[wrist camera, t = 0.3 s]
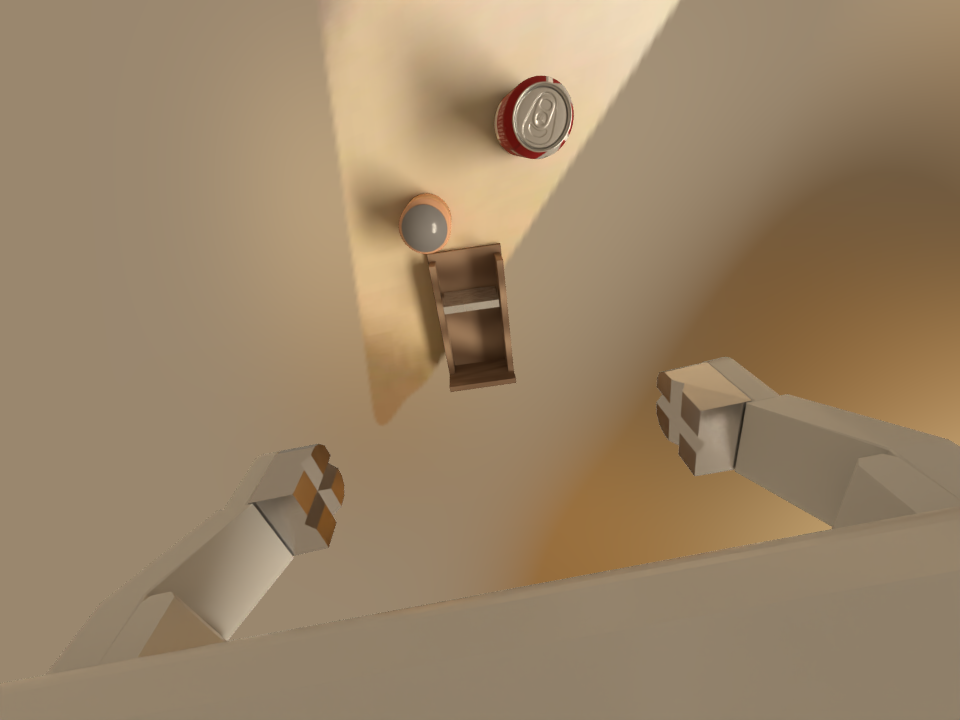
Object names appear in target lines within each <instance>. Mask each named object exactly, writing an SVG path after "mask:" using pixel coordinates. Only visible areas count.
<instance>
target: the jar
mask: <svg viewBox="0 0 960 720" xmlns="http://www.w3.org/2000/svg"><path fill="white" fill-rule="evenodd" d="M399 231H400V235H401V237H402V239H403V241H404V242H405V244H406V245H407V246H408V247H409V248H411V249H412V250H414V251H416V252H418V253H422V254H431V253H434V252H437V251H439V250H440V249H442V248H443V247H444V246H445V245H446V243H447V242H448V240H449V237H450V233H451V213H450V210H449V208H448V206H447V204H446V203H445V202H444V201H443V200H442V199H441V198H440V197H438V196H436V195H433V194H428V193H426V194H420V195H417V196H416V197H414V198H413V199H412V200H411V201H410V202H409V203H408V205H407V206H406V208H405V209H404V210H403V212H402V214H401V216H400V220H399Z"/></svg>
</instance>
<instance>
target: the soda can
mask: <svg viewBox="0 0 960 720" xmlns="http://www.w3.org/2000/svg"><path fill="white" fill-rule="evenodd" d="M573 117H574V111H573V104H572V100H571V98H570V95H569V93H568V92H567V90H566V89H565V87H564V86H563V85H562V84H561V83H560V82H558V81H557V80H555V79H553V78H551V77H547V76H534V77H531V78H528V79H526V80H525V81H523V82H522V83H520V84H519V85H518V86H517V87H516V88H514V89H513V90H512V91H511V92H510V93H509V94H507V95H506V96H505V97H504V98H503V100H502V101H501V102H500V104H499V106H498V108H497V110H496V114H495V119H494V129H495V134H496V137H497V139H498V141H499V143H500V145H501V146H502V147H503V148H504V149H505V150H506V151H507V152H509V153H511V154H513V155H516V156H521V157H525V158H530V159H542V158H546V157H548V156H550V155H552V154H554V153H555V152H556V151H558V150H559V149H560V148H561V147H562V146H563V144H564V143H565V142H566V140H567V138H568V136H569V134H570V132H571V129H572V125H573Z"/></svg>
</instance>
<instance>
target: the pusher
mask: <svg viewBox="0 0 960 720" xmlns="http://www.w3.org/2000/svg"><path fill="white" fill-rule="evenodd" d="M494 307H499V299H498V295H497V292H496V289H495V286H488V287H481V288H474V289H467V290H460V291H453V292H446V293H444V305H443V308H444V313H445V314H452V313H459V312H466V311H473V310H480V309H487V308H494Z"/></svg>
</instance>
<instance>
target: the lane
mask: <svg viewBox="0 0 960 720" xmlns="http://www.w3.org/2000/svg"><path fill="white" fill-rule="evenodd" d="M427 258H428V263H429V271H430V276H431V281H432V286H433V291H434V296H435V301H436V306H437V311H438V317H439V322H440V327H441V332H442V337H443V342H444V347H445V352H446V357H447V362H448V367H449V373H450V391H451V392H454V391H461V390H467V389H475V388H482V387H489V386H496V385H504V384H511V383H516V378H515V374H514V369H513V359H512V348H511V339H510V328H509V317H508V307H507V296H506V286H505V276H504V265H503V259H502V256H501V246H500V243H499V244H492V245H485V246H478V247H471V248H464V249H457V250H450V251H443V252H436V253H431V254H427ZM488 286H495V289H496V292H497V295H498V299H499V307H494V308H487V309H480V310H473V311H466V312H459V313H452V314H445V313H444V308H443V305H444V293H446V292H453V291H460V290H467V289H474V288H481V287H488Z"/></svg>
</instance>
